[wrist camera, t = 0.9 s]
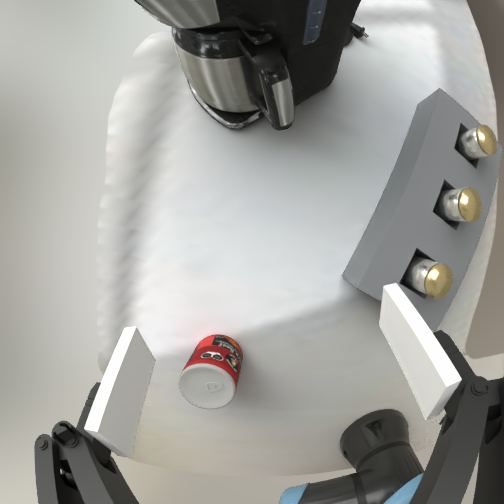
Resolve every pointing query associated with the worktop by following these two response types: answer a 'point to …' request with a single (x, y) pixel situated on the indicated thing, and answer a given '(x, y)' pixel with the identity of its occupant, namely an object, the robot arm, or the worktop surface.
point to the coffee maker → (257, 52)
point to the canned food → (212, 372)
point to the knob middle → (458, 205)
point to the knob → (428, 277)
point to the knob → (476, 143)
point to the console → (425, 208)
